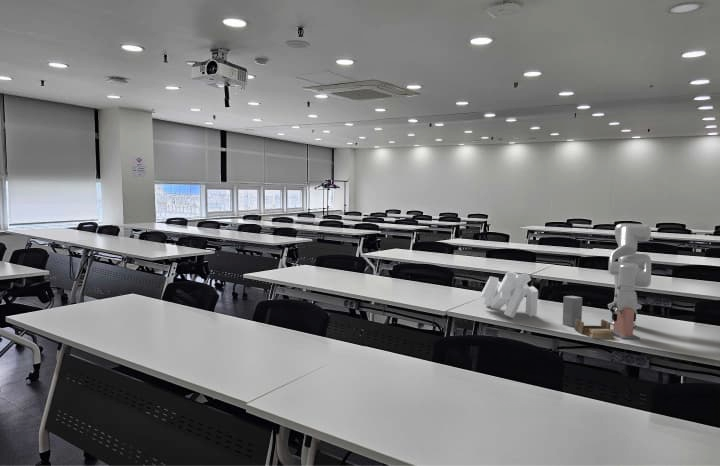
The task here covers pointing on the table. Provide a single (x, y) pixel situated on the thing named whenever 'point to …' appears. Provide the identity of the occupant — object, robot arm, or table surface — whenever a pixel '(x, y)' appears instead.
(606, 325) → the rack
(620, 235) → the robot arm
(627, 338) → the slate mat
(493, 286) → the pile of blocks
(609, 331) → the offcut stack
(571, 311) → the skincare box
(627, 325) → the pink block
